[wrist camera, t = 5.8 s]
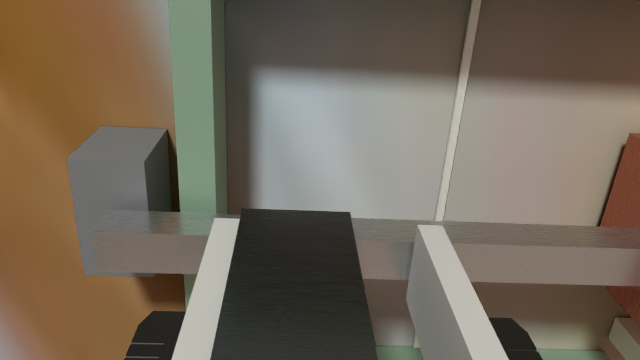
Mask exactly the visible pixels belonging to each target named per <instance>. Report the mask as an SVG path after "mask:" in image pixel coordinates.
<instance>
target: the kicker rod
mask: <svg viewBox="0 0 640 360" xmlns="http://www.w3.org/2000/svg"><path fill="white" fill-rule="evenodd" d="M215 218H233V219H240V221H239V226H238V230H237V235H236V240H235V244H234V249H233V254H232V259H231V263H230V268H229V273H228V278H227V282H226V287H225V292H224V296H223V301H222V306H221V311H220V315H219V320H218V325H217V329H216V334H215V339H214V344H213V348H212V353H211V358H210V360H378V358H377V352H376V347H375V342H374V337H373V331H372V326H371V321H370V315H369V310H368V305H367V300H366V294H365V289H364V284H363V279H389V280H409V276H410V269H411V263H412V256H413V250H414V243H415V237H416V231H417V225H439V226H443V228H444V230H445V232H446V234H447V236H448V238H449V240H450V242H451V244H452V246H453V248H454V250H455V252H456V254H457V256H458V258H459V260H460V262H461V264H462V266H463V268H464V270H465V272H466V274H467V276H468V278H469V280H470V282H499V283H535V284H572V285H603V286H604V287H605V288H606V289H607V290H608V291H609V292H610V294H611V295H612V296H613V297H614V298H615V299H616V300H617V302H618V303H619V304H620V305H621V306H622V307H623V308H624V309H625V311H626V312H627V313H628V314H629V315H630V316H631V317H632V319H633V320H634V321H635V322H636V323H637V324H638V325H639V326H640V134H635V133H629V137H628V140H627V143H626V146H625V149H624V152H623V155H622V158H621V162H620V165H619V168H618V171H617V174H616V177H615V180H614V183H613V187H612V190H611V193H610V196H609V199H608V202H607V205H606V209H605V212H604V215H603V218H602V221H601V224H600V226H571V225H541V224H512V223H482V222H453V221H423V220H394V219H364V218H351V215H350V212H329V211H300V210H271V209H242V211H241V214H217V213H188V212H158V211H129V210H107V211H106V213H105V214H104V216H103V217H102V218H101V220H100V221H99V223H98V224H97V226H96V227H95V228H94V230H93V231H92V236H93V243H94V250H95V257H96V264H97V272H132V273H168V274H198V271H199V268H200V264H201V261H202V258H203V255H204V251H205V248H206V245H207V241H208V238H209V235H210V232H211V228H212V225H213V222H214V219H215Z"/></svg>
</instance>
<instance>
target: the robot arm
mask: <svg viewBox="0 0 640 360" xmlns="http://www.w3.org/2000/svg"><path fill="white" fill-rule="evenodd" d="M239 221H240V219H233V218H215V219H214V222H213V225H212V228H211V232H210V235H209V238H208V241H207V245H206V248H205V251H204V255H203V258H202V261H201V264H200V268H199V271H198V274H197V277H196V281H195V284H194V287H193V291H192V294H191V297H190V300H189V304H188V307H187V310H186V312H172V311H153V312H152V313H151V314H150V315H148V316H147V317H146V318H145V319H144V320H143V321H142V322H141V323H140V324H139V325H138V328H137V330H136V332H135V335H134V337H133V339H132V344H131V345H130V347H129V349H128V351H127V354H126V359H124V360H210V358H211V353H212V348H213V344H214V339H215V334H216V329H217V325H218V320H219V315H220V311H221V306H222V301H223V296H224V292H225V287H226V282H227V278H228V273H229V268H230V263H231V259H232V254H233V249H234V244H235V240H236V235H237V230H238V226H239ZM406 301H407V305H408V308H409V311H410V315H411V318H412V322H413V325H414V329H415V332H416V335H417V339H418V342H419V346H420V349H421V352H422V356H423V359H424V360H543V359H542V357H541V356H540V354H539V352H537V351H536V347H535V345H534V343H533V342H532V340H531V338H530V336H529V335H528V333H527V332H526V331H525V330H524V329H523V328H522V327H520V326H519V325H518V324H517V323H516V322H515V321H514V320H512V319H511V318H488V317H487V315H486V313H485V311H484V309H483V307H482V305H481V303H480V301H479V299H478V296H477V294H476V292H475V290H474V288H473V286H472V284H471V282H470V280H469V278H468V276H467V274H466V272H465V270H464V268H463V266H462V264H461V262H460V260H459V258H458V256H457V254H456V252H455V250H454V248H453V246H452V244H451V242H450V240H449V238H448V236H447V234H446V232H445V230H444V228H443V226H439V225H417V231H416V237H415V243H414V250H413V256H412V263H411V269H410V276H409V282H408V288H407V295H406Z"/></svg>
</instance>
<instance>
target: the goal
mask: <svg viewBox="0 0 640 360" xmlns="http://www.w3.org/2000/svg"><path fill="white" fill-rule="evenodd" d="M608 339H609V340H610V341H611V342H612V344H613V345H614V346H615V348H616V349H617V350H618V351H619V353H620V354H621V355H622V357H623V358H624V359H625V360H640V326H639V325H638V324H637V323H636V322H635V321H634V320H633V319H632V318H616V317H615V320H614V323H613V326H612V328H611V331H610V334H609V337H608Z"/></svg>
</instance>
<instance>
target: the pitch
mask: <svg viewBox="0 0 640 360" xmlns="http://www.w3.org/2000/svg"><path fill="white" fill-rule="evenodd" d="M481 1H482V0H471V6H470V12H469V18H468V23H467V29H466V35H465V41H464V47H463V53H462V59H461V65H460V71H459V77H458V83H457V89H456V94H455V100H454V106H453V112H452V118H451V124H450V130H449V136H448V142H447V148H446V154H445V159H444V165H443V171H442V177H441V183H440V189H439V195H438V201H437V207H436V213H435V219H434V221H443V216H444V210H445V205H446V199H447V193H448V188H449V182H450V176H451V171H452V165H453V159H454V154H455V148H456V142H457V137H458V131H459V125H460V120H461V114H462V108H463V103H464V97H465V91H466V86H467V80H468V74H469V69H470V63H471V57H472V52H473V46H474V40H475V35H476V29H477V24H478V18H479V12H480V7H481ZM168 11H169V29H170V46H171V63H172V80H173V97H174V114H175V131H176V149H177V166H178V183H179V200H180V212H188V213H217V214H228V199H227V137H226V75H225V12H224V0H168ZM67 165H68V172H69V178H70V185H71V191H72V198H73V205H74V211H75V218H76V224H77V231H78V237H79V244H80V250H81V257H82V264H83V270H84V275H93V276H130V277H154V276H155V274H156V273H132V272H97V264H96V257H95V250H94V243H93V236H92V231H93V230H94V228H95V227H96V226H97V224H98V223H99V221H100V220H101V218H102V217H103V216H104V214H105V213H106V211H107V210H129V211H158V212H172V198H171V182H170V167H169V152H168V136H167V129H156V128H132V127H109V126H101V127H100V128H99V129H98V130H97V131H96V132H95V133H94V134H92V135H91V136H90V137H89V138H88V139H87V140H86V141H85V142H84V143H83V144H82V145H81V146H80V147H79V148H78V149H76V150H75V151H74V152H73V153H72V154H71V155H70V156H69V157H68V158H67ZM196 277H197V274H184V286H185V303H186V310H187V307H188V304H189V300H190V297H191V294H192V291H193V287H194V284H195V281H196ZM375 347H376V352H377V358H378V360H424V359H423V356H422V352H421V349H420V346H419V342H418V339H417V335H416V332H415V337H414V343H413V347H386V346H375ZM536 351H537V352H539V354H540V356H541V357H542V359H543V360H609V358H608V357H607V356H606V354H605V353H604V352H603V351H588V350H538V349H536Z"/></svg>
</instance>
